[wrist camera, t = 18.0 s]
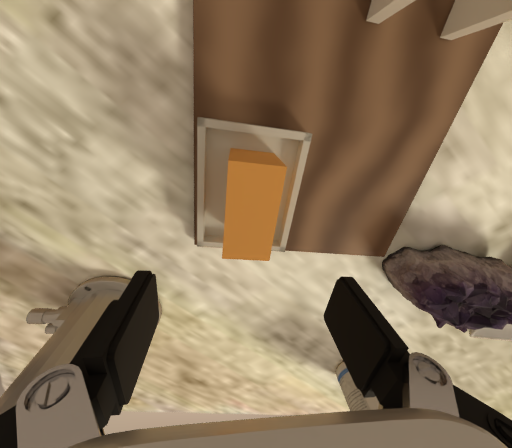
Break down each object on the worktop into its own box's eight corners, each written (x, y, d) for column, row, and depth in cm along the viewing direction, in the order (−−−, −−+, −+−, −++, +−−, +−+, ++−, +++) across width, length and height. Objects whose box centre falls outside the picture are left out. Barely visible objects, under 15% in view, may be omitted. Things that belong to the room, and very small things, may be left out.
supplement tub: (343, 381, 49) (382, 478, 36) (327, 364, 45) (364, 466, 32) (383, 366, 47) (438, 462, 34) (370, 346, 43) (427, 447, 30)
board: (195, 240, 28) (194, 244, 27) (195, -68, 15) (192, -79, 14) (380, 252, 31) (384, 256, 30) (499, 10, 19) (511, 5, 18)
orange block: (225, 225, 25) (222, 258, 19) (230, 147, 21) (228, 160, 15) (262, 228, 26) (269, 260, 20) (274, 153, 22) (287, 167, 16)
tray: (199, 237, 26) (197, 246, 25) (200, 117, 20) (197, 117, 18) (281, 243, 28) (284, 251, 26) (306, 132, 21) (312, 133, 20)
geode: (360, 291, 35) (404, 343, 26) (391, 229, 32) (456, 263, 22) (457, 309, 38) (528, 361, 29) (495, 255, 35) (590, 294, 25)
